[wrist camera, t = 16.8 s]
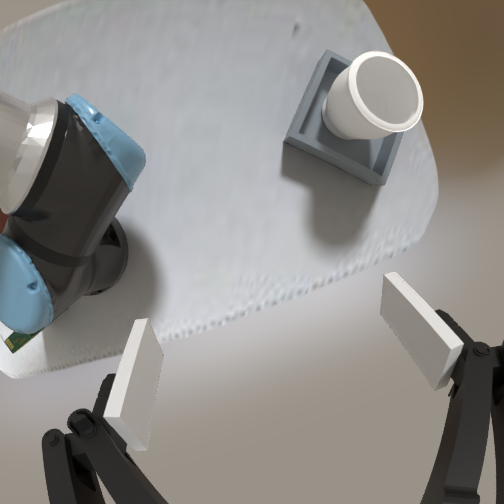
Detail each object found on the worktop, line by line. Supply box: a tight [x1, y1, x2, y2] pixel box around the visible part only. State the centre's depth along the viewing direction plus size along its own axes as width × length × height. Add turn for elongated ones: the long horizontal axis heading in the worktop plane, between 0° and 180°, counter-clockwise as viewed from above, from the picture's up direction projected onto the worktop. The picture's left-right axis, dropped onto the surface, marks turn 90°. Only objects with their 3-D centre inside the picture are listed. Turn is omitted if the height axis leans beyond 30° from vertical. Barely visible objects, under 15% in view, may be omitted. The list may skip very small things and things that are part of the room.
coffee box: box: [5, 308, 68, 354], centre depth 40 cm, size 8×3×13 cm, turn 121°
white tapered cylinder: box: [322, 51, 423, 140], centre depth 35 cm, size 11×10×15 cm
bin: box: [284, 49, 404, 185], centre depth 40 cm, size 16×16×5 cm
